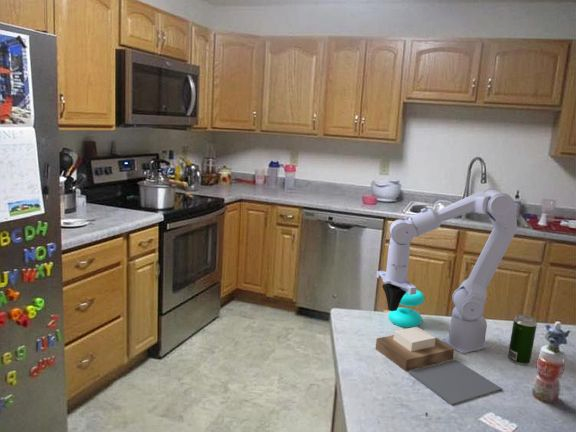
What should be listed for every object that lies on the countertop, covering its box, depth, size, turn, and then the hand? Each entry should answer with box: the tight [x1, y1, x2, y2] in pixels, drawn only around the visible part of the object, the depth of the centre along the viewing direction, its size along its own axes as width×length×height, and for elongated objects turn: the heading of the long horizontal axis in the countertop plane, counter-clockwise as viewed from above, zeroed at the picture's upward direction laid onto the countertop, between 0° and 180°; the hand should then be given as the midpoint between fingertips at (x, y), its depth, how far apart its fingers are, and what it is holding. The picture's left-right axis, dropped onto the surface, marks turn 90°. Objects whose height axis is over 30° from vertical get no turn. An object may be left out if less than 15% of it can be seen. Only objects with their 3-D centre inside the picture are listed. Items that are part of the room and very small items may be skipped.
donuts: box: [388, 289, 425, 328], centre depth 141 cm, size 10×10×10 cm
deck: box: [375, 334, 455, 372], centre depth 121 cm, size 16×12×3 cm
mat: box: [408, 359, 503, 406], centre depth 109 cm, size 16×14×1 cm
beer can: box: [507, 314, 537, 366], centre depth 120 cm, size 5×5×12 cm
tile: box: [393, 326, 437, 351], centre depth 121 cm, size 8×7×2 cm
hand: (392, 309), depth 129 cm, fingers closed
